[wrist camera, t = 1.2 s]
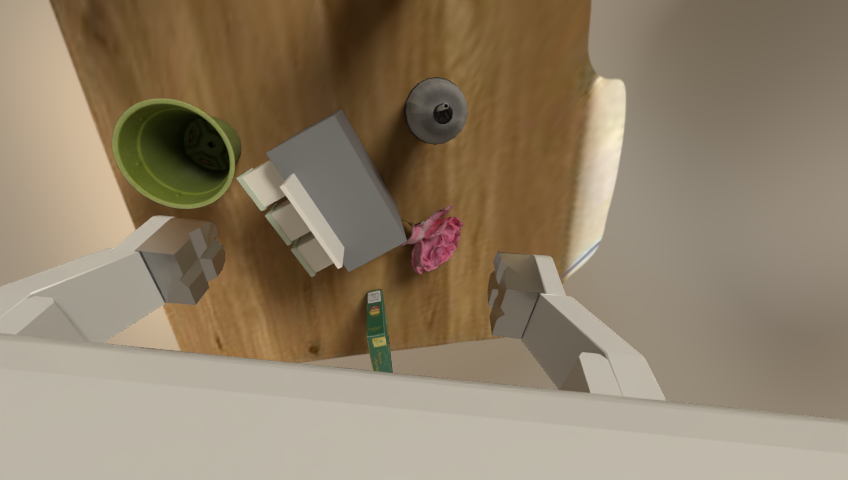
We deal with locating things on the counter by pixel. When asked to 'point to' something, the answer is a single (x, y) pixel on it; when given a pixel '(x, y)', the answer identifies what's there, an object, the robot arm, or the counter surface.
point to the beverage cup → (435, 110)
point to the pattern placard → (313, 219)
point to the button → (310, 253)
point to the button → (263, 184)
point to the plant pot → (175, 153)
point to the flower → (434, 240)
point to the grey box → (343, 187)
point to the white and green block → (287, 221)
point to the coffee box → (378, 332)
